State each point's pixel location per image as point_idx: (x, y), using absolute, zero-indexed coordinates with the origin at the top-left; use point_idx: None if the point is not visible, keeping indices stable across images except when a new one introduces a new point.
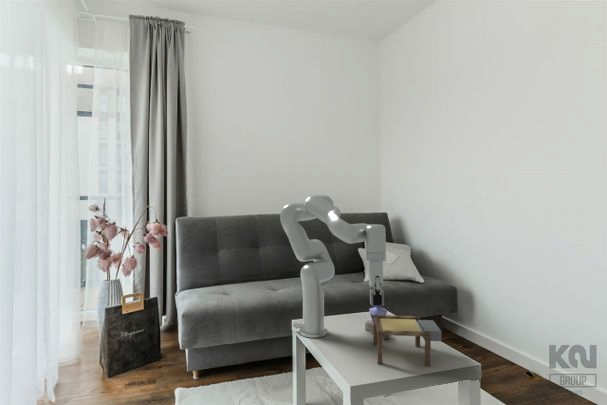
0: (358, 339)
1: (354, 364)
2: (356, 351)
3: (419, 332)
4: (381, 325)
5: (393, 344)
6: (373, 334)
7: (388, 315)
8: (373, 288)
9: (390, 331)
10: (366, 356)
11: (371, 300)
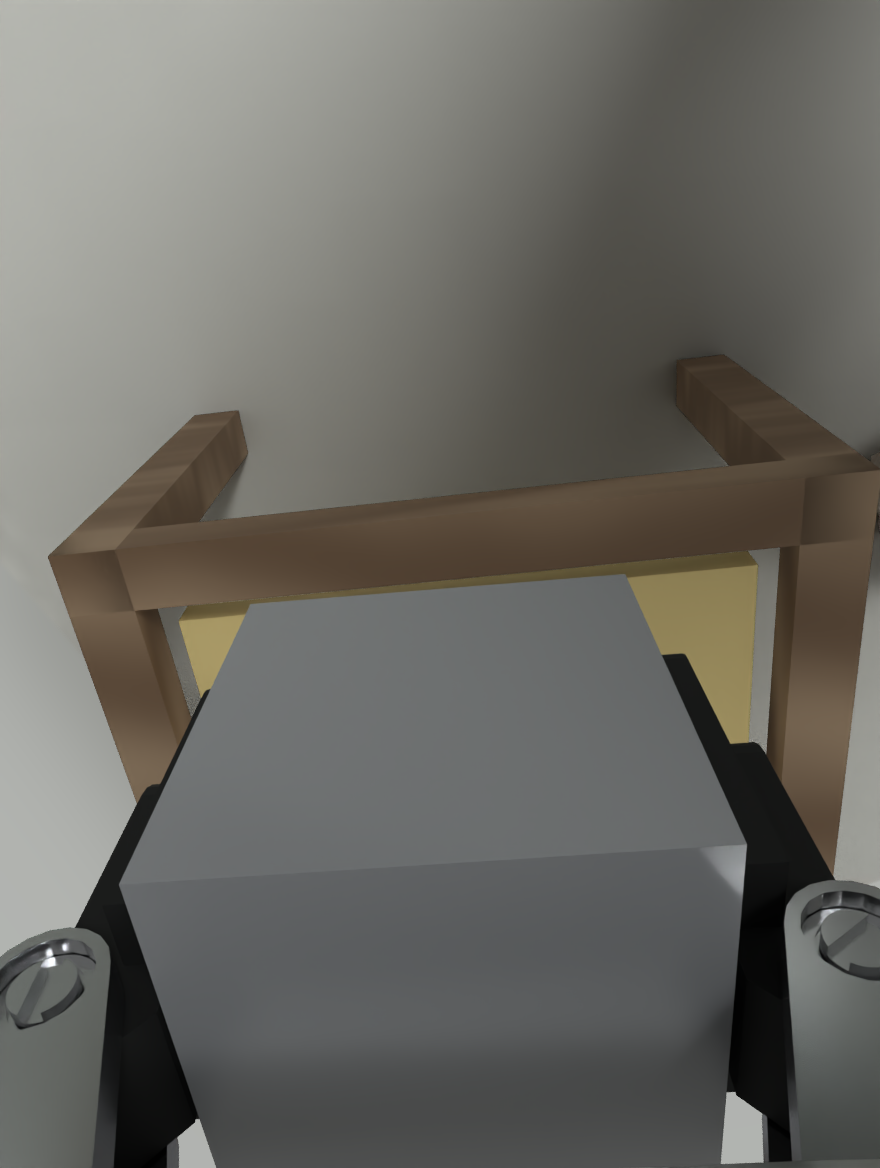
0: (863, 143)
1: (102, 152)
2: (463, 146)
3: None
4: (463, 585)
5: None
6: (747, 383)
7: (850, 707)
8: (781, 999)
9: (127, 716)
10: (350, 285)
11: (218, 701)
